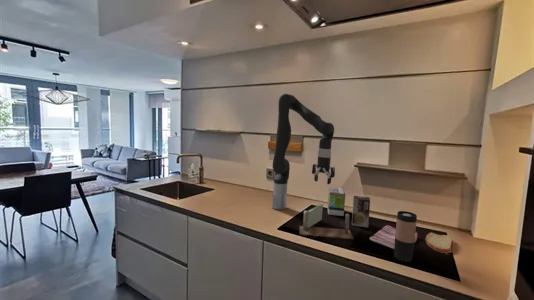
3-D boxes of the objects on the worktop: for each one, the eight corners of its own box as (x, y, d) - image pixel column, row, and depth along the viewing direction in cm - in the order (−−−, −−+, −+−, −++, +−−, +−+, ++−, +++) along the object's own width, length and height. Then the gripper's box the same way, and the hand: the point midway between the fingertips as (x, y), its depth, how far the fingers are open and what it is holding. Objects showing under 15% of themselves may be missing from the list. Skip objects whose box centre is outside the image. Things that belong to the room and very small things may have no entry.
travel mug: (389, 253, 119) (393, 210, 117) (405, 253, 119) (410, 210, 117) (399, 262, 111) (404, 217, 109) (416, 262, 112) (421, 217, 110)
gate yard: (299, 234, 135) (300, 214, 134) (299, 227, 145) (300, 207, 144) (353, 239, 132) (355, 218, 131) (349, 231, 142) (350, 211, 141)
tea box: (344, 216, 165) (345, 193, 163) (327, 214, 167) (329, 192, 165) (342, 209, 179) (343, 187, 178) (327, 207, 181) (328, 186, 180)
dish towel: (418, 239, 136) (419, 232, 136) (404, 254, 120) (405, 247, 119) (385, 229, 148) (385, 223, 148) (368, 241, 131) (368, 235, 131)
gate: (307, 228, 140) (308, 212, 139) (305, 227, 141) (306, 211, 140) (322, 219, 155) (323, 204, 154) (319, 218, 156) (320, 204, 155)
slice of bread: (443, 255, 119) (444, 247, 119) (412, 238, 137) (412, 231, 136) (473, 251, 124) (474, 244, 124) (439, 235, 141) (439, 229, 141)
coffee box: (367, 223, 154) (370, 197, 152) (368, 228, 147) (370, 200, 146) (351, 221, 156) (353, 195, 155) (351, 225, 150) (353, 198, 149)
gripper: (310, 154, 158) (308, 181, 160) (331, 158, 148) (329, 186, 150) (317, 154, 163) (315, 179, 165) (338, 157, 154) (336, 184, 156)
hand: (322, 182), depth 158 cm, fingers open, 8 cm apart
